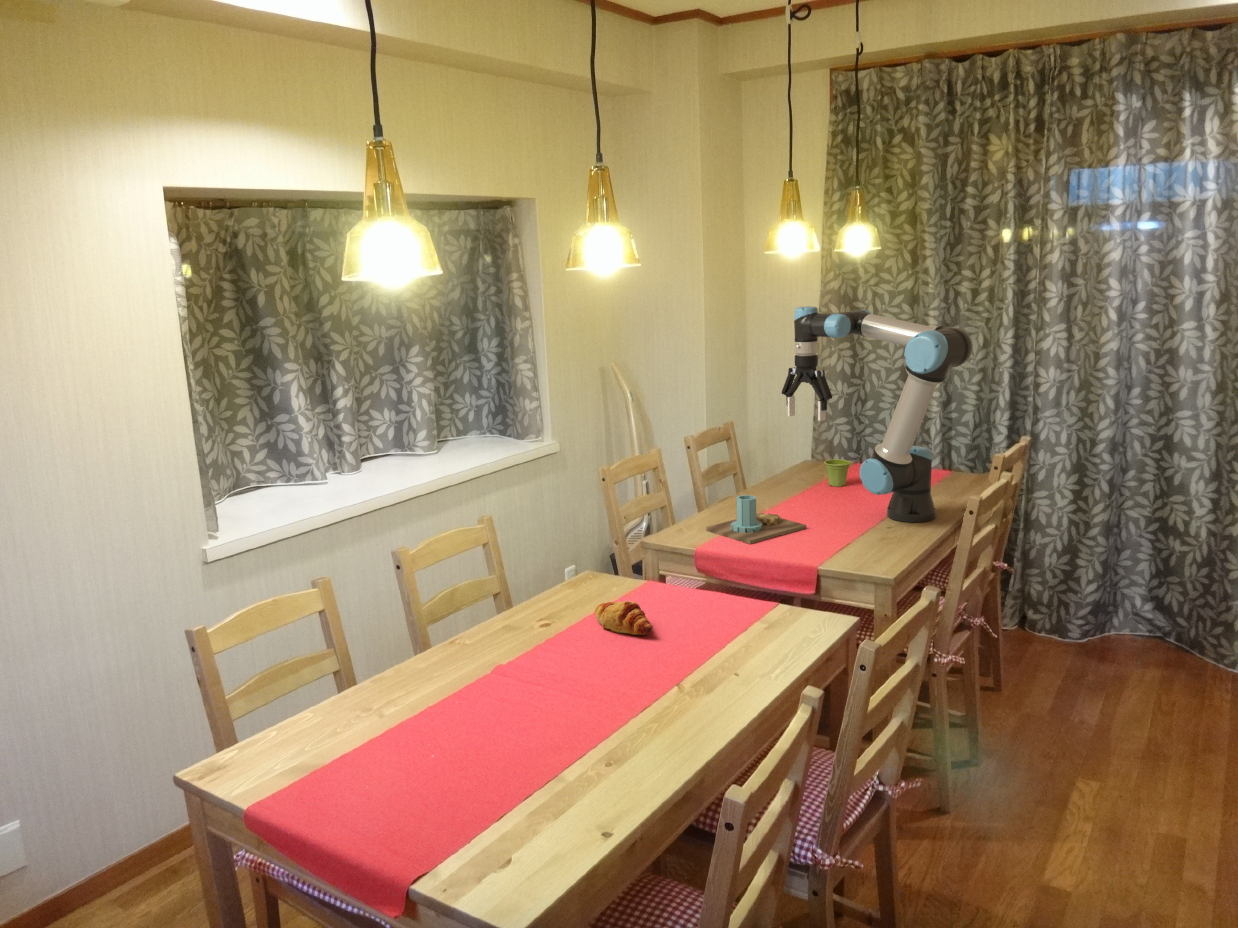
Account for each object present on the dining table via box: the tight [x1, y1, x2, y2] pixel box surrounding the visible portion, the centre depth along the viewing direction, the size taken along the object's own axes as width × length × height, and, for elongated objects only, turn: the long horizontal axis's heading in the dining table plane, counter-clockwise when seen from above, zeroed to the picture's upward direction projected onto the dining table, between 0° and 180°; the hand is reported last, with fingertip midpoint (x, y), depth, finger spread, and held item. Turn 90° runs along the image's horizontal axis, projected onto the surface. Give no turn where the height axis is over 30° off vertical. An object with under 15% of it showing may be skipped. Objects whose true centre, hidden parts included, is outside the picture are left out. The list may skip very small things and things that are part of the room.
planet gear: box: [731, 494, 763, 533], centre depth 307 cm, size 10×10×10 cm
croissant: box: [594, 600, 653, 636], centre depth 236 cm, size 21×10×8 cm, turn 39°
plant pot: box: [823, 458, 852, 488], centre depth 361 cm, size 9×9×9 cm
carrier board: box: [705, 512, 807, 545], centre depth 310 cm, size 20×24×6 cm
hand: (806, 418), depth 328 cm, fingers open, 13 cm apart
